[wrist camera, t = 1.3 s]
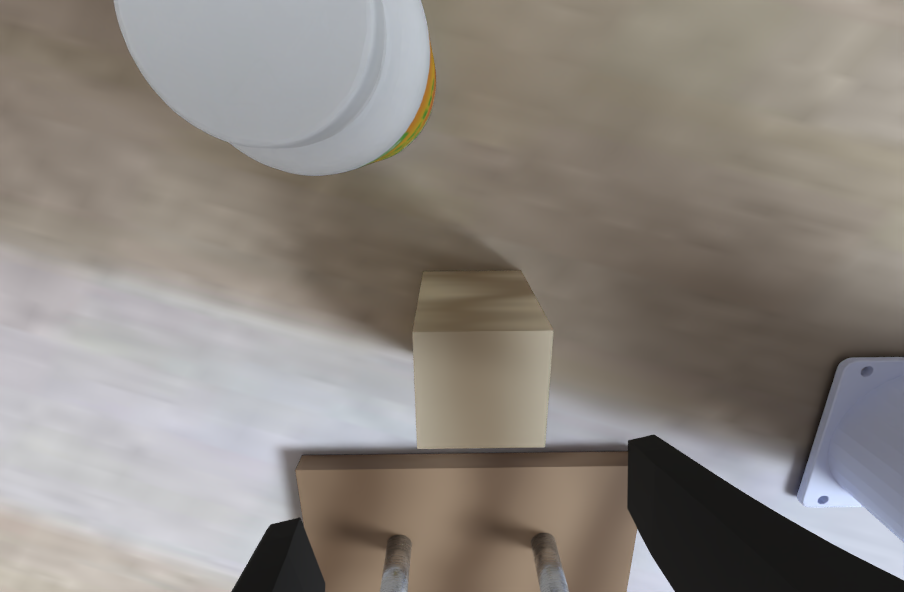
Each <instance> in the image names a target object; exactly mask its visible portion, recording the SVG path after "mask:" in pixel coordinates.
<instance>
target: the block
mask: <svg viewBox="0 0 904 592" xmlns="http://www.w3.org/2000/svg"><path fill="white" fill-rule="evenodd" d="M553 332H554V330H553V329H552V327H551V325H550V323H549V321H548V319H547V317H546V316H545V314H544V312H543V310H542V308H541V306H540V304H539V303H538V301H537V299H536V297H535V295H534V293H533V292H532V290H531V288H530V286H529V284H528V282H527V280H526V279H525V277H524V275H523V273H522V271H521V270H510V271H423V275H422V281H421V286H420V292H419V297H418V303H417V309H416V314H415V320H414V326H413V331H412V337H413V361H414V384H415V408H416V432H417V449H456V448H534V447H545V439H546V426H547V412H548V399H549V386H550V372H551V359H552V345H553Z"/></svg>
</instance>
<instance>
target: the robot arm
mask: <svg viewBox="0 0 904 592" xmlns="http://www.w3.org/2000/svg"><path fill="white" fill-rule="evenodd" d="M863 368H864V370H862V369H863ZM797 499H798V500H799V502H800V503H801V504H802V505H804V506H805V507H865V508H866V509H867V510H868V511H869V512H870V513H871V514H872V515H874V516H875V517H876V518H877V519H878V520H879V521H880V522H881V523H882V524H884V525H885V526H886V527H887V528H888V529H889V530H890V531H891V532H893V533H894V534H895V535H896V536H897V537H898V538H899V539H900V540H902V541H903V542H904V357H854V358H847V359H845V360H843V361H842V362H841V363H840V364H839V365H838V367H837V370H836V374H835V377H834V380H833V383H832V386H831V389H830V393H829V396H828V399H827V402H826V405H825V408H824V412H823V415H822V418H821V421H820V424H819V427H818V431H817V434H816V437H815V440H814V443H813V446H812V450H811V453H810V456H809V459H808V462H807V465H806V469H805V472H804V475H803V478H802V481H801V484H800V488H799V491H798V494H797ZM627 509H628V511H629V513H630V515H631V517H632V519H633V521H634V523H635V525H636V527H637V529H638V531H639V533H640V535H641V536H642V538H643V540H644V542H645V544H646V546H647V548H648V550H649V552H650V553H651V555H652V557H653V558H654V560H655V562H656V563H657V565H658V566H659V568H660V569H661V571H662V572H663V574H664V575H665V577H666V579H667V580H668V582H669V583H670V585H671V586H672V588H673V589H674V591H675V592H904V580H902V579H900V578H898V577H896V576H894V575H892V574H890V573H888V572H886V571H884V570H882V569H880V568H878V567H876V566H874V565H872V564H870V563H868V562H866V561H864V560H862V559H860V558H858V557H856V556H854V555H852V554H850V553H848V552H846V551H845V550H843V549H841V548H839V547H837V546H835V545H833V544H831V543H830V542H828V541H826V540H824V539H822V538H821V537H819V536H817V535H815V534H813V533H812V532H810V531H808V530H806V529H805V528H803V527H801V526H799V525H798V524H796V523H794V522H792V521H790V520H789V519H787V518H785V517H784V516H782V515H780V514H778V513H777V512H775V511H773V510H772V509H770V508H768V507H767V506H765V505H763V504H762V503H760V502H758V501H757V500H755V499H754V498H752V497H750V496H749V495H747V494H745V493H744V492H742V491H741V490H739V489H737V488H736V487H734V486H733V485H731V484H729V483H728V482H726V481H725V480H723V479H722V478H720V477H718V476H717V475H715V474H714V473H712V472H711V471H709V470H708V469H706V468H705V467H703V466H702V465H700V464H698V463H697V462H695V461H694V460H692V459H691V458H689V457H688V456H686V455H685V454H683V453H682V452H680V451H679V450H677V449H676V448H674V447H673V446H671V445H669V444H668V443H666V442H665V441H663V440H662V439H660V438H659V437H657V436H655V435H650V436H646V437H642V438H637V439H633V440H629V441H628V489H627ZM231 592H325V581H324V578H323V576H322V573H321V570H320V568H319V565H318V563H317V560H316V557H315V555H314V552H313V549H312V547H311V544H310V542H309V539H308V536H307V534H306V531H305V528H304V526H303V523H302V521H301V518H296V519H292V520H288V521H284V522H279V523H275V524H271V525H270V526H269V527H268V529H267V530H266V532H265V534H264V536H263V537H262V539H261V541H260V543H259V544H258V546H257V548H256V550H255V551H254V553H253V555H252V557H251V558H250V560H249V562H248V564H247V565H246V567H245V569H244V571H243V572H242V574H241V576H240V578H239V579H238V581H237V583H236V584H235V586H234V588H233V590H232V591H231Z"/></svg>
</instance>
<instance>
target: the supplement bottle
mask: <svg viewBox="0 0 904 592" xmlns="http://www.w3.org/2000/svg"><path fill="white" fill-rule="evenodd" d="M114 6H115V12H116V16H117V20H118V23H119V27H120V30H121V32H122V35H123V37H124V40H125V43H126V45H127V48H128V50H129V52H130V54H131V56H132V58H133V60H134V61H135V63H136V65H137V67H138V68H139V70H140V72H141V73H142V75H143V76H144V78H145V79H146V80H147V82H148V83H149V85H150V86H151V87H152V89H153V90H154V91H155V92H156V93H157V94H158V95H159V96H160V98H161V99H162V100H163V101H164V102H165V103H166V104H167V105H168V106H169V107H170V108H171V109H172V110H173V111H174V112H175V113H177V114H178V115H179V116H181V117H182V118H183V119H185V120H186V121H187V122H189V123H190V124H192V125H193V126H195V127H197V128H198V129H200V130H202V131H204V132H205V133H207V134H209V135H211V136H213V137H216V138H218V139H220V140H223V141H226V142H229V143H230V144H231V145H233V146H234V147H235V148H237V149H238V150H239V151H241V152H242V153H244V154H246V155H247V156H249V157H250V158H252V159H254V160H256V161H258V162H260V163H262V164H264V165H267V166H269V167H272V168H275V169H278V170H282V171H285V172H288V173H293V174H298V175H307V176H324V175H332V174H338V173H343V172H347V171H351V170H354V169H357V168H360V167H362V166H365V165H367V164H371V163H374V162H377V161H380V160H384V159H386V158H389V157H391V156H393V155H395V154H397V153H399V152H400V151H402V150H403V149H404V148H406V147H407V146H408V145H409V144H410V143H411V142H412V141H413V140H414V139H415V138H416V137H417V136H418V135H419V134H420V132H421V131H422V129H423V128H424V126H425V124H426V122H427V120H428V118H429V116H430V113H431V111H432V107H433V103H434V98H435V91H436V72H435V64H434V58H433V53H432V48H431V43H430V37H429V31H428V25H427V21H426V17H425V13H424V9H423V5H422V2H421V0H114Z"/></svg>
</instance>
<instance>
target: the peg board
mask: <svg viewBox="0 0 904 592" xmlns="http://www.w3.org/2000/svg"><path fill="white" fill-rule="evenodd" d="M295 472H296V478H297V485H298V491H299V498H300V504H301V510H302V517H303V523H304V528H305V531H306V534H307V536H308V539H309V542H310V544H311V547H312V549H313V552H314V555H315V557H316V560H317V563H318V565H319V568H320V570H321V573H322V576H323V578H324V581H325V592H626V591H627V585H628V580H629V574H630V568H631V562H632V556H633V550H634V544H635V538H636V533H637V527H636V525H635V523H634V521H633V519H632V517H631V515H630V513H629V511H628V509H627V489H628V451H618V452H537V453H456V454H375V455H302V457H301V459H300V461H299V463H298V465H297V468H296V470H295Z"/></svg>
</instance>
